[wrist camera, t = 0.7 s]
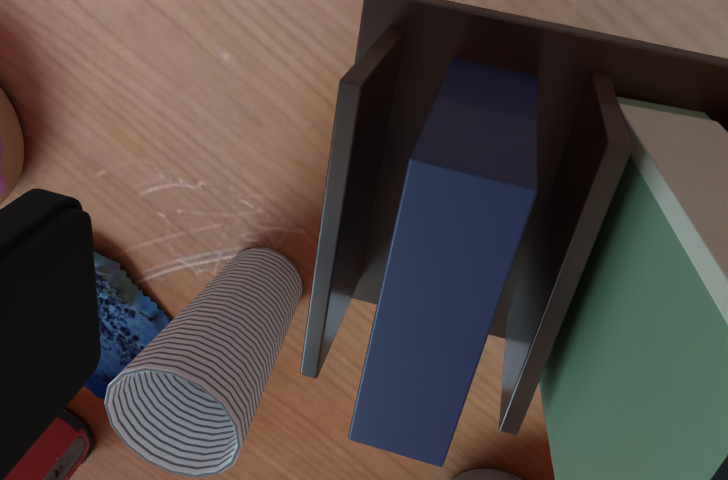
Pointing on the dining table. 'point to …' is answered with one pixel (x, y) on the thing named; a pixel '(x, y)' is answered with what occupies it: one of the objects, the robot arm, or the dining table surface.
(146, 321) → the rock
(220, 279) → the cup
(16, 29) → the dining table surface
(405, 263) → the navy book
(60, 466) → the speaker
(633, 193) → the green book
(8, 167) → the donut
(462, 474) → the bowl
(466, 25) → the rack
